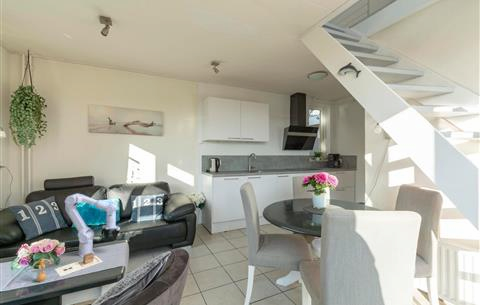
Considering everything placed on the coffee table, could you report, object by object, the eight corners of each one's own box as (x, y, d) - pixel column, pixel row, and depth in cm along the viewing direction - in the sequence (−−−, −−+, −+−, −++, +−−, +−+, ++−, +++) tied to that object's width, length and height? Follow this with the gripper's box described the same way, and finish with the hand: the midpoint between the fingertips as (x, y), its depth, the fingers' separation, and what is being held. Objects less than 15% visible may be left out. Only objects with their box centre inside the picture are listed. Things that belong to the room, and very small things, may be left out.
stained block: (83, 262, 138) (83, 254, 138) (91, 259, 141) (91, 252, 141) (85, 264, 135) (85, 256, 135) (93, 261, 139) (93, 254, 139)
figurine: (31, 285, 114) (32, 263, 114) (30, 281, 118) (31, 259, 118) (51, 278, 120) (52, 257, 120) (50, 274, 124) (51, 254, 124)
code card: (54, 269, 130) (54, 268, 130) (95, 255, 147) (95, 255, 147) (60, 276, 122) (60, 276, 122) (103, 261, 139) (103, 261, 139)
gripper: (98, 221, 152) (98, 239, 152) (114, 223, 148) (113, 242, 148) (107, 218, 159) (107, 236, 159) (122, 220, 154) (122, 238, 154)
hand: (110, 239), depth 154 cm, fingers open, 7 cm apart
